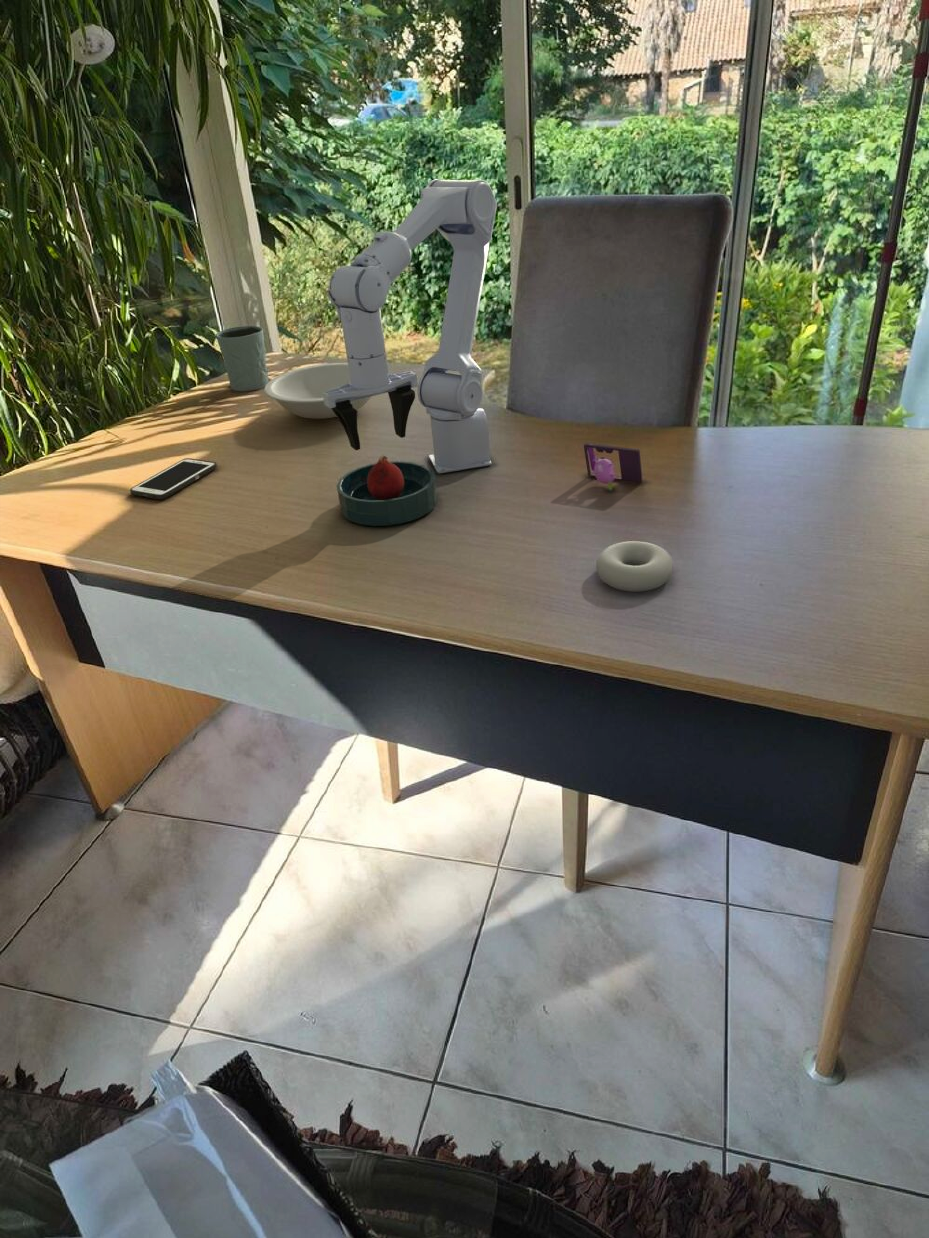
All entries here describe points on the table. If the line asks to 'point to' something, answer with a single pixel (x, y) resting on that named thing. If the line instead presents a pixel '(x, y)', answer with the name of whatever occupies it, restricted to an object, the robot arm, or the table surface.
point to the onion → (385, 480)
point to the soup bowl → (310, 389)
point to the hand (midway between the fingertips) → (378, 441)
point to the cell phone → (173, 478)
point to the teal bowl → (404, 508)
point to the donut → (634, 566)
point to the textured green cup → (244, 357)
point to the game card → (604, 467)
